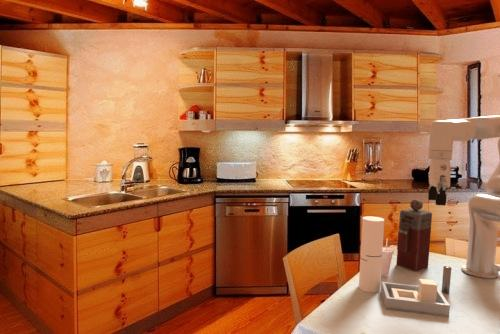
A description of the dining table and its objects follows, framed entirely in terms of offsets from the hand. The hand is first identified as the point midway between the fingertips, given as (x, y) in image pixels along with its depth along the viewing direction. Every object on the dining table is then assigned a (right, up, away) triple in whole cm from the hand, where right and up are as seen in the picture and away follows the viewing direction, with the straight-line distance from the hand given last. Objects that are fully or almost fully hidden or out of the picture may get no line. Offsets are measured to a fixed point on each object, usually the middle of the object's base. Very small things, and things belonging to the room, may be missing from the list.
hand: (436, 202), depth 133 cm
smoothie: (-15, -29, +11) cm, 35 cm away
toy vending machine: (-1, -29, +19) cm, 34 cm away
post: (0, -31, -5) cm, 31 cm away
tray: (-15, -31, -14) cm, 37 cm away
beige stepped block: (-15, -31, -14) cm, 37 cm away
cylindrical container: (-25, -30, -3) cm, 40 cm away
